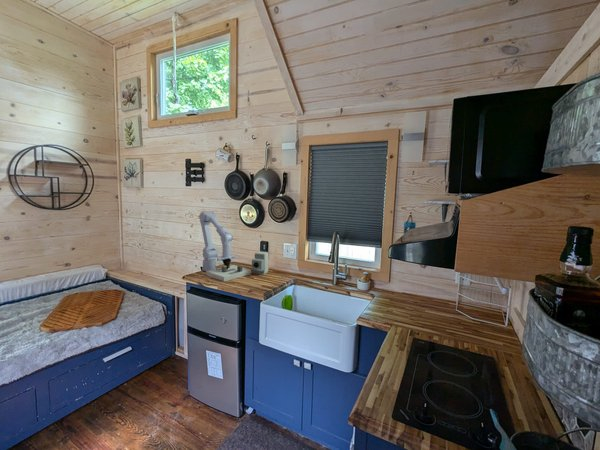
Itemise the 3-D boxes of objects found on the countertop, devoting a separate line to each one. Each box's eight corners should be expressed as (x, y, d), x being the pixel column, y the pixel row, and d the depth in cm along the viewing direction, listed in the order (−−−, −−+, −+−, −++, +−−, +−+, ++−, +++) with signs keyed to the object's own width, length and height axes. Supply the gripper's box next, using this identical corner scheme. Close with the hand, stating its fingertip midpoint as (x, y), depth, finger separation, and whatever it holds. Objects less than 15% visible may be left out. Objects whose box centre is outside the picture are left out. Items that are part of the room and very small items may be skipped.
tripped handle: (221, 271, 202) (221, 265, 202) (224, 270, 204) (224, 265, 203) (224, 272, 200) (224, 266, 200) (226, 271, 202) (226, 265, 201)
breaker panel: (206, 275, 202) (206, 266, 202) (233, 268, 221) (233, 260, 220) (224, 281, 190) (224, 271, 189) (251, 273, 209) (251, 265, 208)
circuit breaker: (250, 275, 205) (250, 255, 203) (259, 270, 218) (259, 251, 217) (260, 276, 203) (260, 256, 201) (268, 271, 216) (268, 252, 214)
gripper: (221, 253, 194) (221, 272, 195) (238, 249, 205) (238, 268, 207) (215, 251, 198) (215, 270, 200) (232, 248, 209) (232, 266, 211)
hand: (226, 269), depth 203 cm, fingers closed
